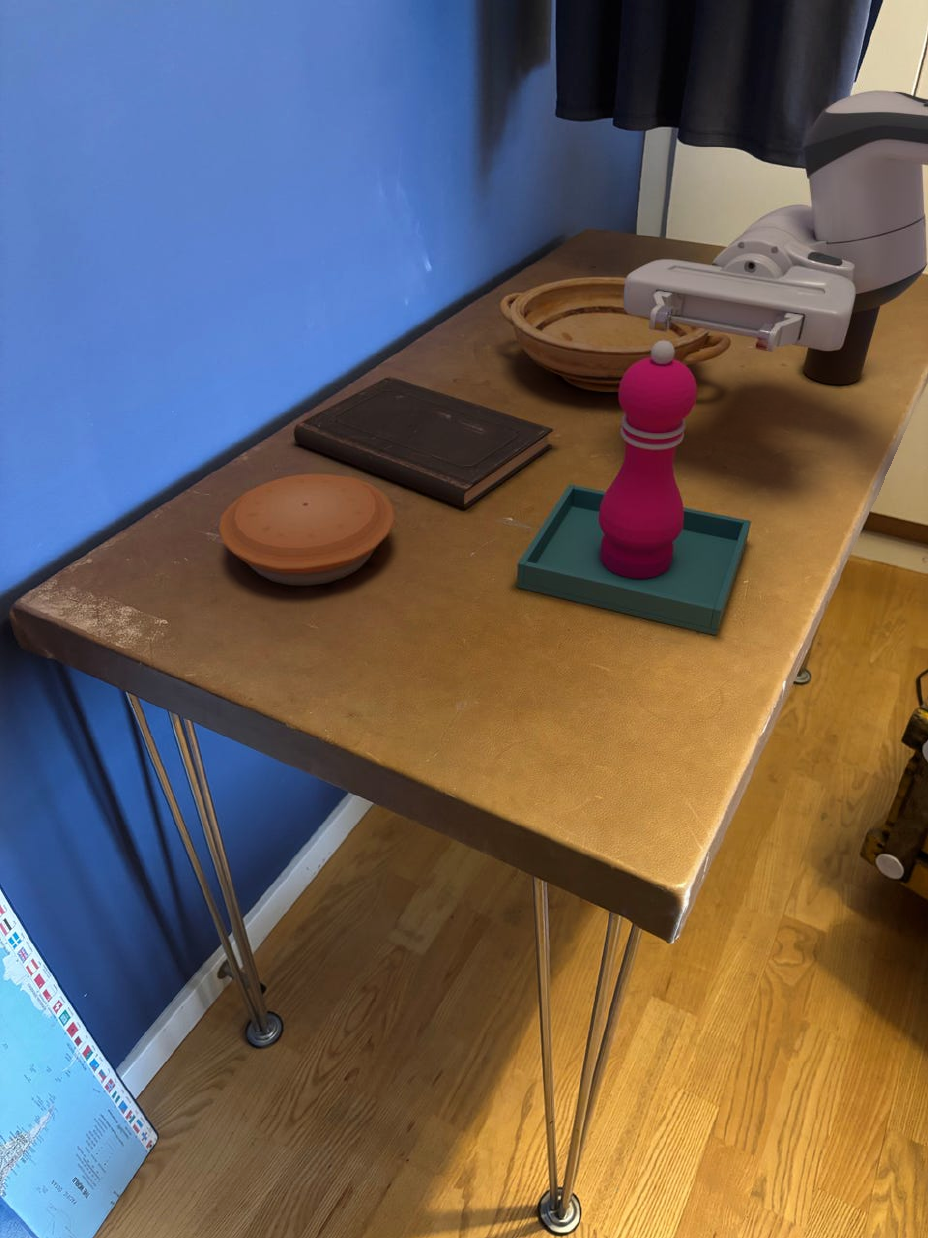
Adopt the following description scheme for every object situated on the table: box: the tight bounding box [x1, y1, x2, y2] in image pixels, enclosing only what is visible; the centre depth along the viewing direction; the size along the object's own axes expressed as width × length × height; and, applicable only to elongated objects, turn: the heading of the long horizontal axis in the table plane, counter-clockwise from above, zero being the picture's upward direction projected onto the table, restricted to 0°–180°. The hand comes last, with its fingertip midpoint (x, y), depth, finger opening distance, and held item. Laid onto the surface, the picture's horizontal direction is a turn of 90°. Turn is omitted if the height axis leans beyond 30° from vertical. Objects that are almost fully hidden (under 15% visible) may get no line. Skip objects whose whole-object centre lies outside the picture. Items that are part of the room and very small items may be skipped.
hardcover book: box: [293, 376, 554, 509], centre depth 98 cm, size 16×23×2 cm
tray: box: [516, 484, 752, 636], centre depth 81 cm, size 17×14×3 cm
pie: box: [218, 473, 396, 587], centre depth 82 cm, size 15×16×5 cm
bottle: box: [803, 306, 881, 386], centre depth 106 cm, size 7×7×20 cm
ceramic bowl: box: [499, 276, 732, 393], centre depth 111 cm, size 30×24×8 cm
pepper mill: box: [598, 340, 698, 579], centre depth 75 cm, size 7×7×20 cm
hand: (710, 331), depth 78 cm, fingers open, 8 cm apart
